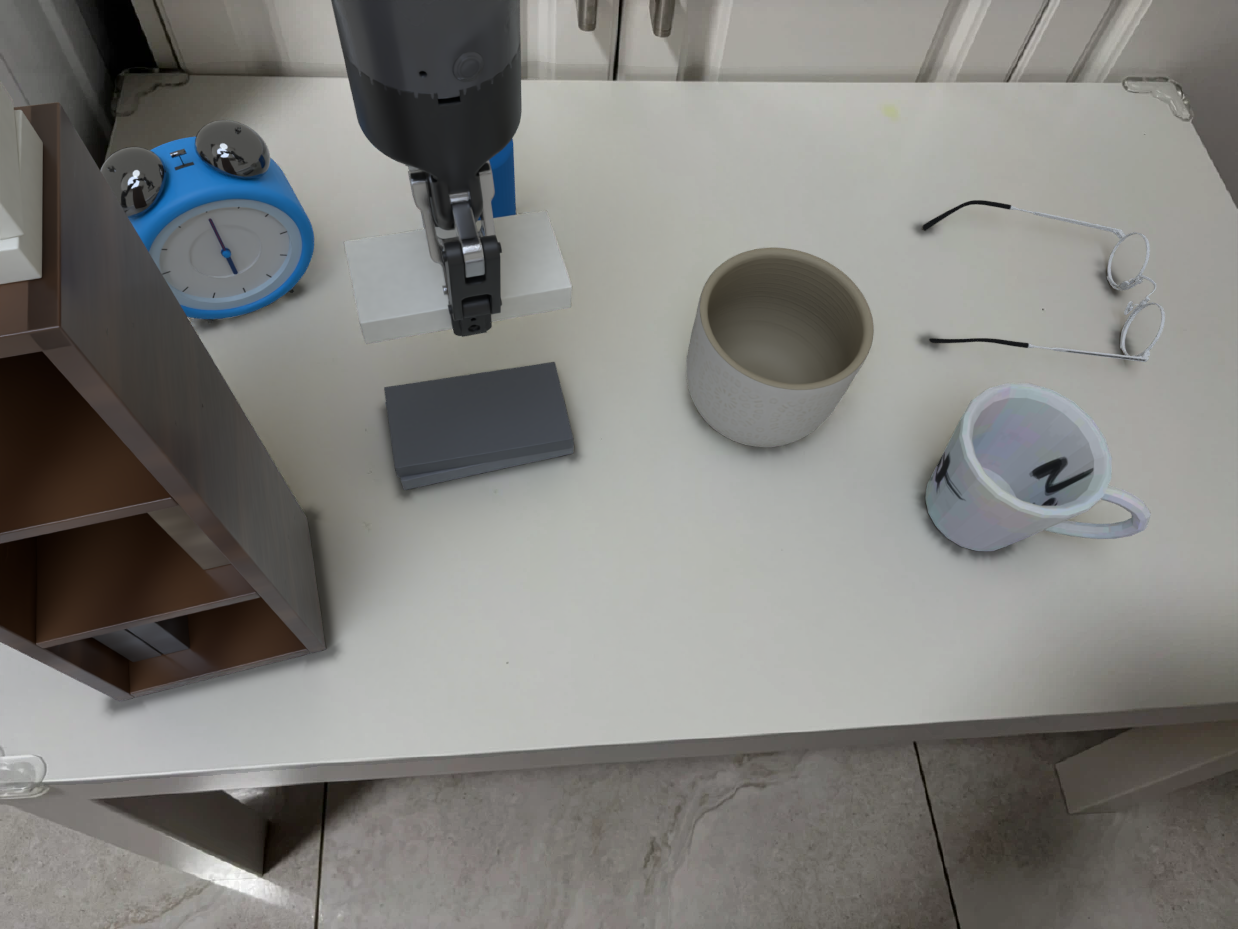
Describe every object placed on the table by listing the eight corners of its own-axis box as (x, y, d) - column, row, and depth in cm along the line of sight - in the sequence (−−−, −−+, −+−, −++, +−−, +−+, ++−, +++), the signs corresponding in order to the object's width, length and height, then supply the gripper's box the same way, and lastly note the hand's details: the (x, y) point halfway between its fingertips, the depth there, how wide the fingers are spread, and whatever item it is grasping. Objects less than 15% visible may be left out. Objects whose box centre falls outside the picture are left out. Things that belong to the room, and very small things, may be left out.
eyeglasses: (1142, 388, 73) (1180, 354, 69) (928, 356, 73) (953, 320, 69) (1114, 247, 81) (1147, 208, 76) (920, 217, 81) (942, 177, 76)
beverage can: (442, 212, 76) (426, 99, 66) (515, 211, 77) (511, 99, 66) (442, 269, 73) (425, 160, 63) (518, 268, 74) (514, 160, 63)
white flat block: (365, 344, 48) (359, 323, 46) (349, 263, 51) (343, 240, 49) (571, 308, 51) (572, 286, 49) (546, 232, 53) (547, 209, 51)
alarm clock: (174, 345, 68) (85, 207, 54) (150, 289, 70) (58, 144, 57) (333, 286, 71) (285, 144, 58) (305, 235, 74) (254, 87, 60)
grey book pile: (402, 495, 63) (396, 476, 61) (385, 408, 66) (378, 387, 64) (576, 456, 66) (578, 437, 63) (552, 375, 69) (552, 354, 66)
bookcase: (119, 701, 55) (-461, 414, 23) (114, 560, 59) (-381, 153, 27) (326, 650, 58) (60, 326, 26) (307, 518, 62) (59, 100, 30)
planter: (840, 360, 72) (887, 275, 62) (811, 485, 66) (857, 413, 57) (699, 317, 73) (723, 227, 63) (658, 437, 67) (678, 357, 58)
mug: (926, 428, 70) (982, 358, 61) (1105, 505, 68) (1189, 444, 59) (889, 533, 65) (944, 474, 56) (1080, 620, 63) (1168, 572, 54)
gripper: (315, -70, 38) (376, 205, 53) (365, 159, 32) (418, 398, 47) (482, -84, 40) (496, 188, 54) (560, 133, 34) (552, 372, 48)
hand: (460, 284), depth 51 cm, fingers closed on white flat block, 6 cm apart
